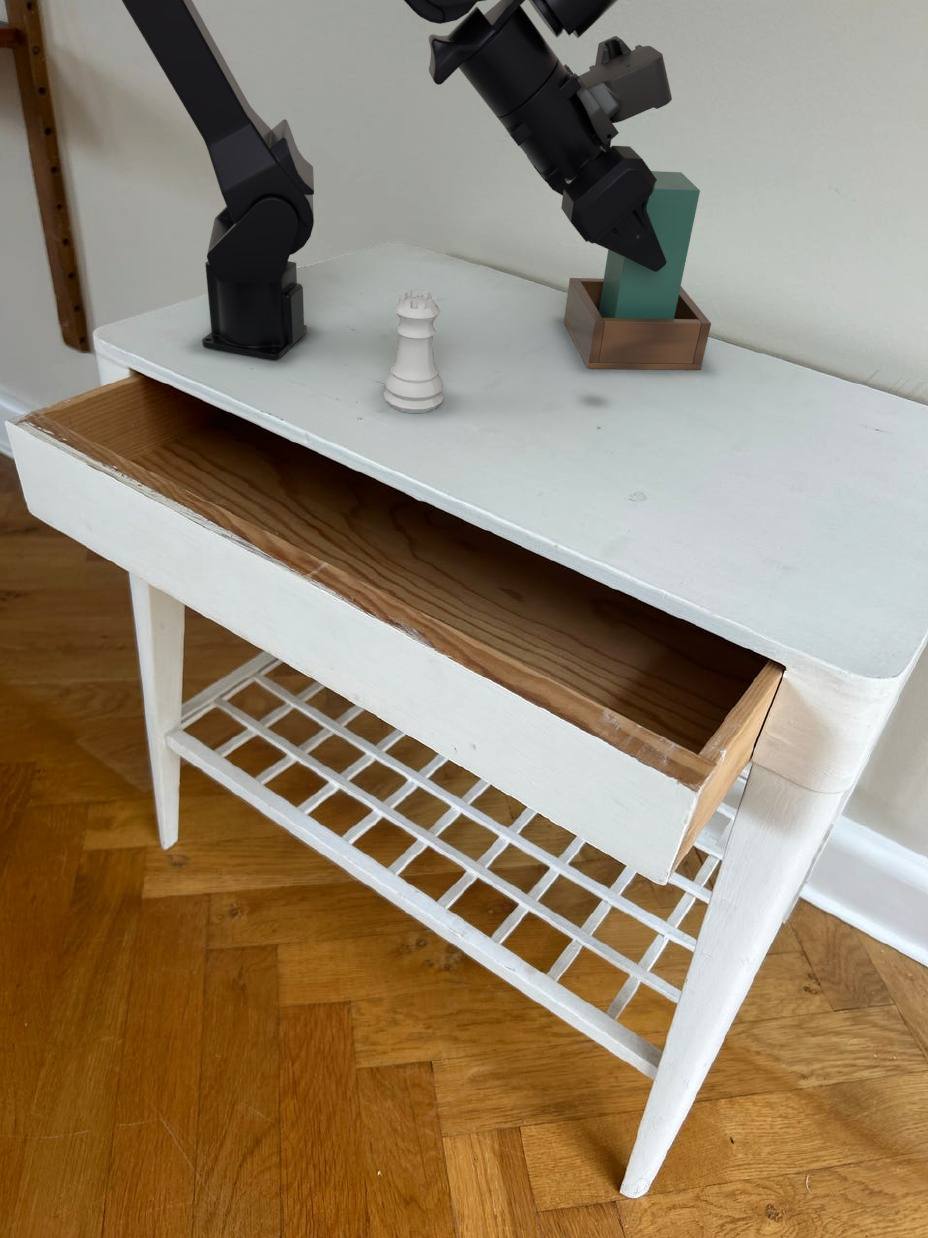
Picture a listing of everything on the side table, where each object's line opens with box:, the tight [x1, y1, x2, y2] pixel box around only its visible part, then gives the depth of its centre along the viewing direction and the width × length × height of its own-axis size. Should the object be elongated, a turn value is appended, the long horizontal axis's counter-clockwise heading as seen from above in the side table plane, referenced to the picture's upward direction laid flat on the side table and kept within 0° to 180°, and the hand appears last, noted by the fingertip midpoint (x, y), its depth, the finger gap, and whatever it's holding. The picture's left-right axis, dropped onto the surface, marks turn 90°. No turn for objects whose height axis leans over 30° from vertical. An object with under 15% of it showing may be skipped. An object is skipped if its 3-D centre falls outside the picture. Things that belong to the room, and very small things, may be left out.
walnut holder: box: [563, 277, 712, 371], centre depth 85 cm, size 10×10×4 cm
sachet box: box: [599, 170, 701, 319], centre depth 82 cm, size 5×5×13 cm
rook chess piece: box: [383, 289, 444, 414], centre depth 72 cm, size 4×4×8 cm
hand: (645, 247), depth 81 cm, fingers open, 9 cm apart
